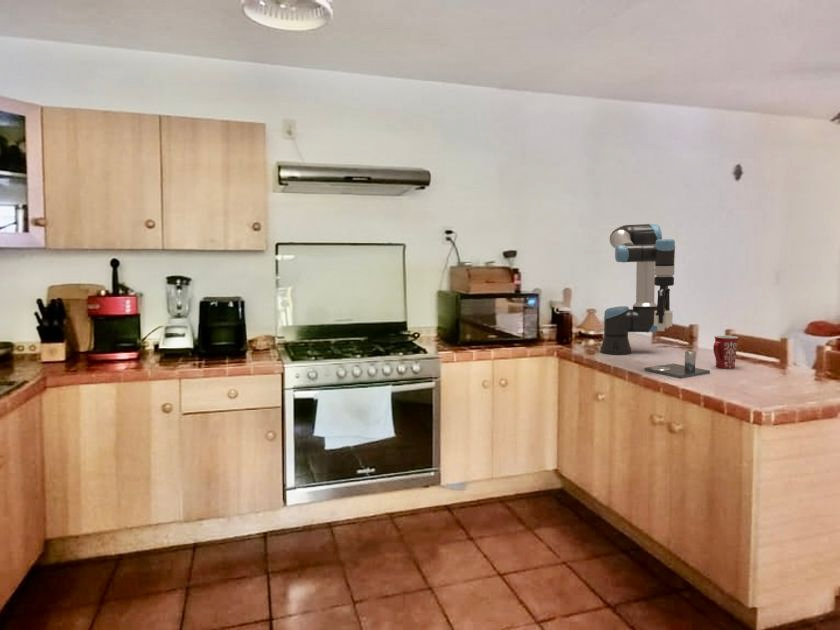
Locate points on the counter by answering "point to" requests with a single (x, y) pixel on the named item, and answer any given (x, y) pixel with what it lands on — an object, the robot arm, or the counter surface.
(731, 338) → the mug
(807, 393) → the counter surface
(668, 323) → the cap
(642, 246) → the robot arm
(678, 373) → the post base
